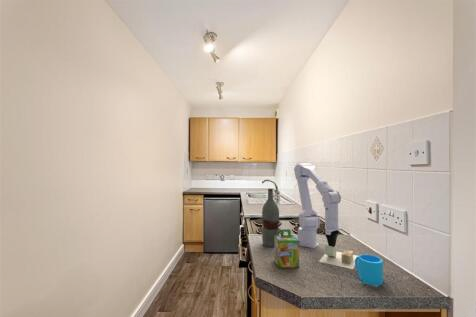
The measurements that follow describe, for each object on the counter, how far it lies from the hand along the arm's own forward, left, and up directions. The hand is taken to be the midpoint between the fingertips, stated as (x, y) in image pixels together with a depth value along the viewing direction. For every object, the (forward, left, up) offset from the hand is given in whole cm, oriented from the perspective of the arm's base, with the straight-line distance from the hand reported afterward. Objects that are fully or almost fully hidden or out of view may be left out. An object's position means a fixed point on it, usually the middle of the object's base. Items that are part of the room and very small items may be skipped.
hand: (332, 246), depth 114 cm
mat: (+3, 0, -5) cm, 6 cm away
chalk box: (-15, -18, -5) cm, 24 cm away
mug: (+16, -13, -5) cm, 21 cm away
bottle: (-32, +1, -5) cm, 33 cm away
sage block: (0, +1, -3) cm, 3 cm away
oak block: (+7, +2, -3) cm, 8 cm away
